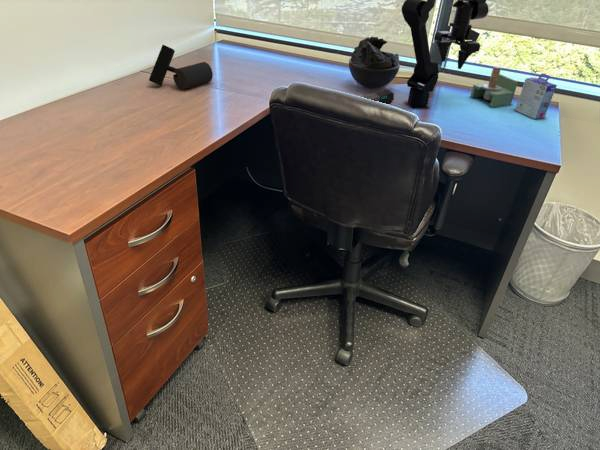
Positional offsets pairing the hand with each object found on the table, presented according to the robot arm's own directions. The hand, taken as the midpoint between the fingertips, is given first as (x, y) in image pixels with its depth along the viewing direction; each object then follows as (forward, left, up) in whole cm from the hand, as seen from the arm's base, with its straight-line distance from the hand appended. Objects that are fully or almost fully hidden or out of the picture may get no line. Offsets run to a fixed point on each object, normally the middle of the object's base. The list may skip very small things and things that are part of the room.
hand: (451, 65), depth 175 cm
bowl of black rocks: (-24, +16, -13) cm, 32 cm away
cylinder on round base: (+17, -4, -12) cm, 21 cm away
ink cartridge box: (+25, -19, -13) cm, 34 cm away
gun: (-36, -9, -13) cm, 39 cm away
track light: (-98, +27, -13) cm, 103 cm away
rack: (+18, -4, -13) cm, 23 cm away
